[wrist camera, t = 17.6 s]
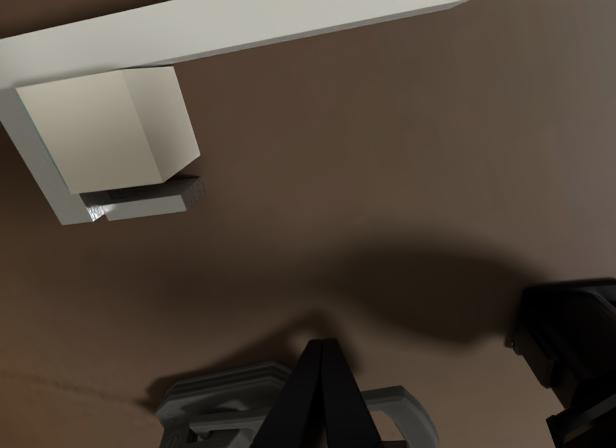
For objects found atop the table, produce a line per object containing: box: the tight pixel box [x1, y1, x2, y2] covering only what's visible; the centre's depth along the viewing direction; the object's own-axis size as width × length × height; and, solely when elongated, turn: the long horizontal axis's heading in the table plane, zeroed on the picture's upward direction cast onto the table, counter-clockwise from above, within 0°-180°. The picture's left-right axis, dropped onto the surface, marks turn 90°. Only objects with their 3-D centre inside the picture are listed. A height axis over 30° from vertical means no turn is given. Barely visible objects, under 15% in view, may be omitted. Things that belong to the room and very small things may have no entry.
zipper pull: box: [155, 361, 440, 448], centre depth 27 cm, size 9×7×25 cm
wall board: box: [0, 0, 469, 92], centre depth 15 cm, size 22×2×4 cm, turn 99°
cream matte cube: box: [15, 66, 200, 194], centre depth 17 cm, size 5×5×5 cm
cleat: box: [0, 89, 205, 225], centre depth 18 cm, size 7×8×4 cm
